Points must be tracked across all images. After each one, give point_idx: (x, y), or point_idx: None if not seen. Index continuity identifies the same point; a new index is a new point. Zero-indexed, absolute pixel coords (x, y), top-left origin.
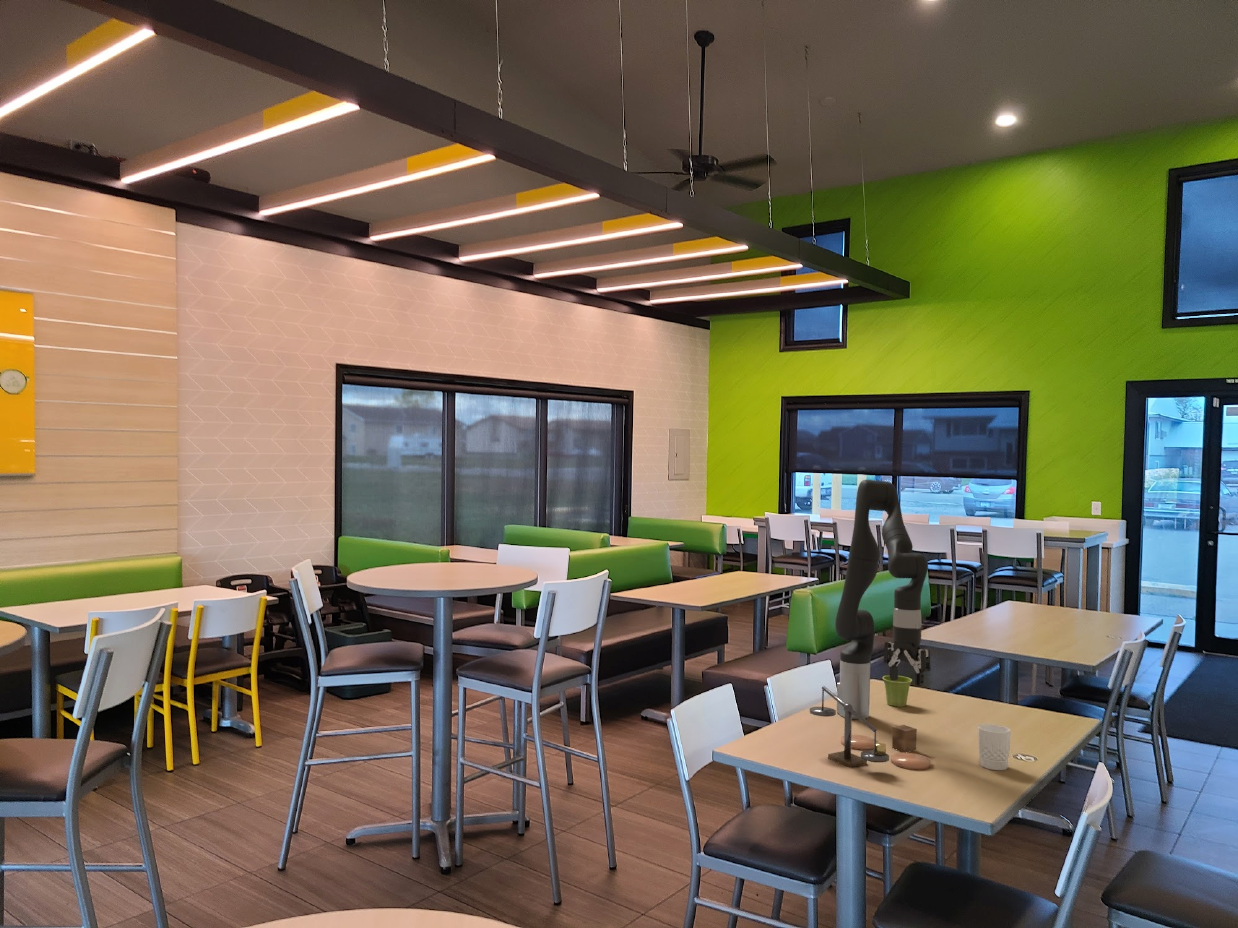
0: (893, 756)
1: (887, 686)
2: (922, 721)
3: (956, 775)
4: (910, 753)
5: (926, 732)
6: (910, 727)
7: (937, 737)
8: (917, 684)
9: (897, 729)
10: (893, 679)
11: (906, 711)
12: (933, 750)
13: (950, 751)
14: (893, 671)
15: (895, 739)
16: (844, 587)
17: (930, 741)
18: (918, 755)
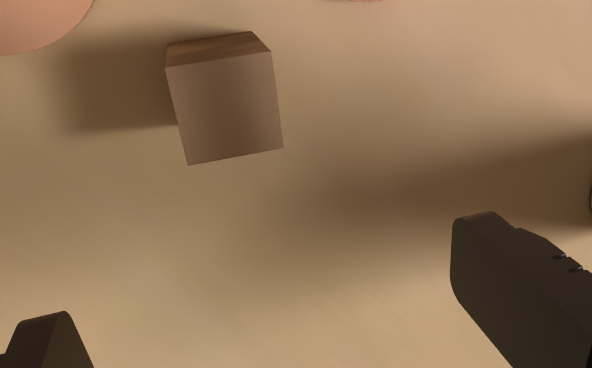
0: None
1: None
2: (460, 354)
3: None
4: (74, 10)
5: (365, 303)
6: (223, 149)
7: (302, 307)
8: (14, 341)
9: (230, 55)
10: (458, 232)
11: None
12: (162, 197)
13: (131, 255)
14: (531, 300)
15: (236, 42)
16: None
17: (272, 256)
18: (29, 29)
